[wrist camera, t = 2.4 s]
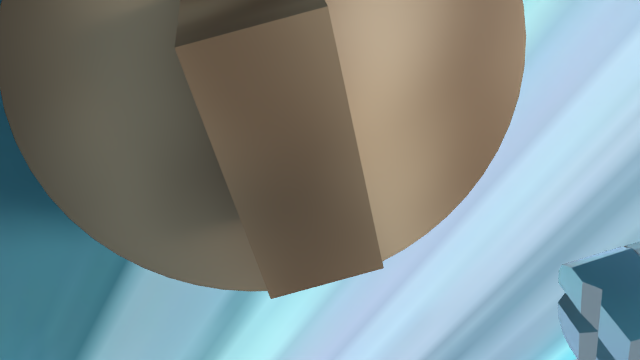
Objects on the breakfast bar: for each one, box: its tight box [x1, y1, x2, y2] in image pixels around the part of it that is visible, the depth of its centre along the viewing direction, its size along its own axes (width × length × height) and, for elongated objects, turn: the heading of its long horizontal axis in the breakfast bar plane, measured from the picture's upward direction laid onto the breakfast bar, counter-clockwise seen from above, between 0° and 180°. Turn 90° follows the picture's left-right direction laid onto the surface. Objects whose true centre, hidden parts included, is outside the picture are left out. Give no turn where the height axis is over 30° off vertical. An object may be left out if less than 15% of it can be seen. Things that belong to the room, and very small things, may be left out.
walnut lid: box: [0, 0, 526, 299], centre depth 15 cm, size 14×14×5 cm
